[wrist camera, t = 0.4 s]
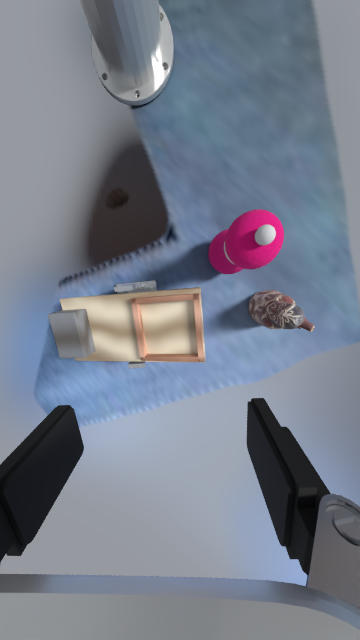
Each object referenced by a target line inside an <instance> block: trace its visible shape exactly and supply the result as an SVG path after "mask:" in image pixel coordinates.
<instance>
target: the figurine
mask: <svg viewBox="0 0 360 640" xmlns="http://www.w3.org/2000/svg"><path fill="white" fill-rule="evenodd" d="M249 314H250V316H251V318H252V319H254V320H255V321H256V322H257V323H259V324H261V325H263V326H265V327H267V328H270V329H282V328H283V329H294V328H299V329H301V328H304V329H306V330H308V331H313V329H314V327H315V326H314V325H313V324H311V323H309V322H308V321H307V319H306V318H305V317H304V312H303V310H302V309H301V308H300V307H298V306H297V305H296V304H295V302H294V300H293V299H292V298H290V297H289V296H287V295H284V294H282V293H280V292H278V291H275V290H268V291H263V292H261V291H260V292H257V293H255V295H254V296H253V297H252V298H251V299H250V303H249Z"/></svg>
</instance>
